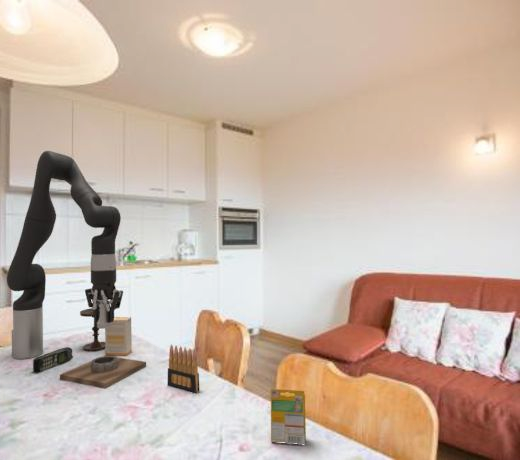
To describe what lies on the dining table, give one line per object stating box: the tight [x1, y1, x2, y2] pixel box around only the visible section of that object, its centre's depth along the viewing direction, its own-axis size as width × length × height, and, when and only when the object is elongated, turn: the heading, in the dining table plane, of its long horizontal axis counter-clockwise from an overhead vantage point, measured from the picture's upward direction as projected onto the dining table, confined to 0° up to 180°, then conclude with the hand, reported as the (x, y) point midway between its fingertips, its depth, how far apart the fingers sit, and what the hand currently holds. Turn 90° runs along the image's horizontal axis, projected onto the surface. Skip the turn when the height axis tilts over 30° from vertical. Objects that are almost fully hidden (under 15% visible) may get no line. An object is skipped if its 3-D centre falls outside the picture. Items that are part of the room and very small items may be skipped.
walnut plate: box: [59, 354, 147, 389], centre depth 117 cm, size 18×18×2 cm
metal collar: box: [91, 355, 120, 373], centre depth 117 cm, size 8×8×2 cm
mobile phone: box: [32, 346, 74, 374], centre depth 124 cm, size 5×3×15 cm
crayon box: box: [270, 388, 307, 445], centre depth 79 cm, size 7×3×12 cm, turn 81°
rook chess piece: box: [97, 301, 111, 330], centre depth 117 cm, size 4×4×8 cm
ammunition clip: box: [166, 344, 200, 394], centre depth 105 cm, size 11×2×12 cm, turn 60°
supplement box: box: [104, 316, 133, 356], centre depth 135 cm, size 8×5×13 cm, turn 84°
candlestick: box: [79, 307, 106, 353], centre depth 142 cm, size 11×11×35 cm
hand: (104, 321), depth 117 cm, fingers closed on rook chess piece, 4 cm apart
